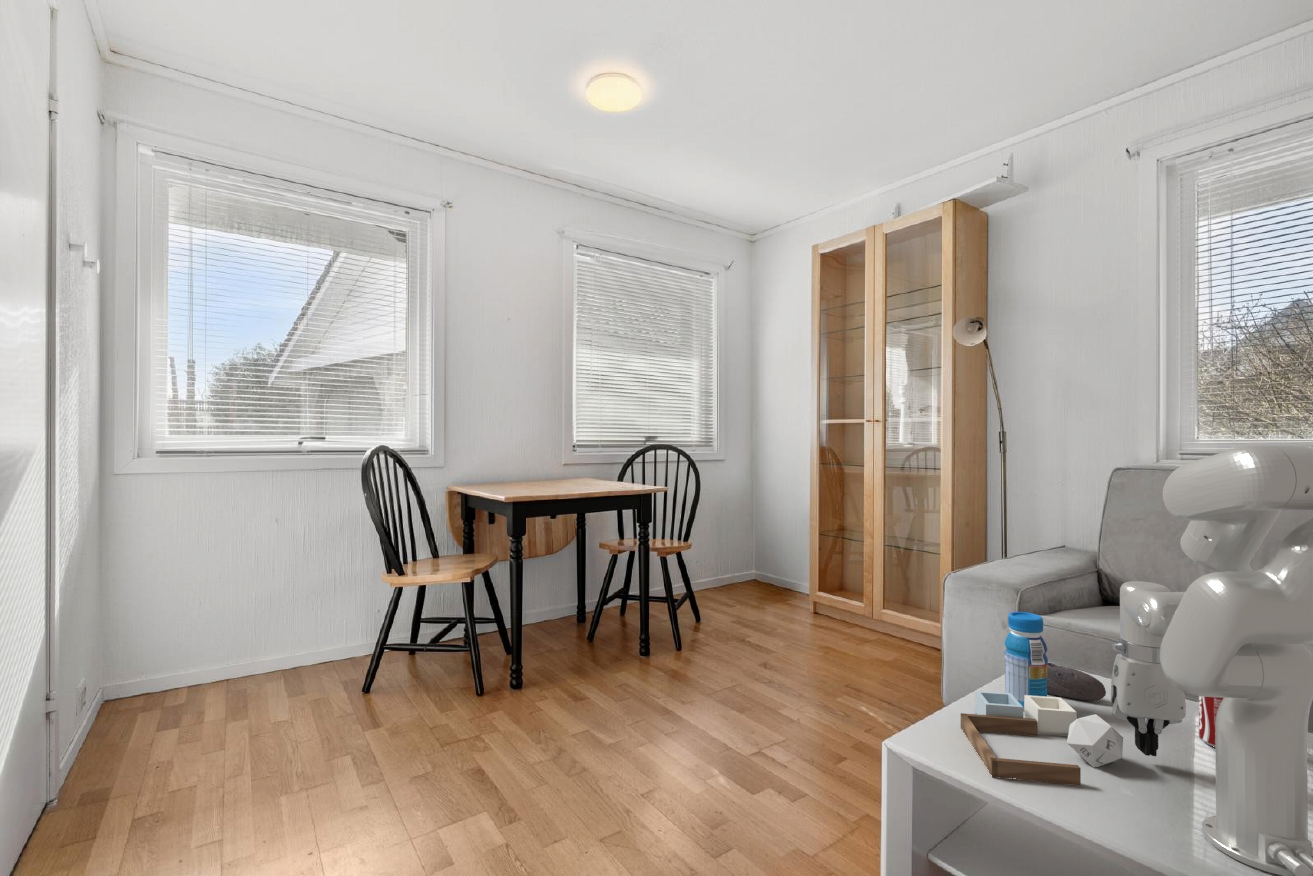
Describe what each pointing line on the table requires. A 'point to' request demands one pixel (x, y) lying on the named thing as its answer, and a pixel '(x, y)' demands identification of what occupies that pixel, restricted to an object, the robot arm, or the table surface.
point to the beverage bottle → (1025, 657)
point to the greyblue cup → (997, 704)
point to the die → (1095, 740)
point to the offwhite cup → (1049, 714)
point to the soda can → (1208, 718)
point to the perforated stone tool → (1073, 683)
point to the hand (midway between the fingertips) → (1146, 752)
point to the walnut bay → (1012, 766)
